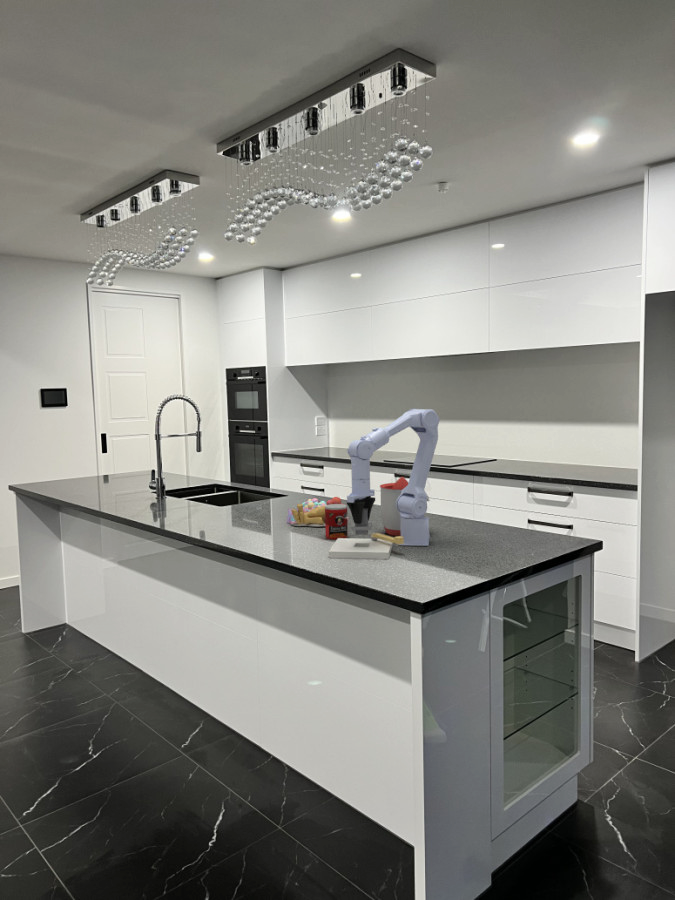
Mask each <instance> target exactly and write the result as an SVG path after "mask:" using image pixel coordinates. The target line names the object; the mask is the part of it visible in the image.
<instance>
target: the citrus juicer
mask: <svg viewBox="0 0 675 900" xmlns="http://www.w3.org/2000/svg"><path fill="white" fill-rule="evenodd" d="M408 483H409V480H407V479H406V478H405V477H404V476H401V477H399V478H398V479H397V480H396V481H395V482H389V483H388V482H387V483H382V484H380V485H379V488H380V516H381V517H380V518H381V520H382V521H381V522H382V525H383V528H384V531H385V533H386V535H387V534H388V535H389V536H390V537H398V536H401V516H400V512H399V511H398V510H397V508H396V501H397V499H398V497H399V496H400V495H401V492H402V490H403V489H404V488H405V487H406V486H407V485H408ZM413 497H415V496H413ZM430 501H431V499H430V497H429V496H428V499H427V502H430Z"/></svg>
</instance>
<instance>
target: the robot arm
mask: <svg viewBox="0 0 675 900" xmlns="http://www.w3.org/2000/svg"><path fill="white" fill-rule="evenodd" d="M440 420H441V419H440V417H439V416H438V414H437V412H436V411H435V410H434V409H431V408H428V409H425V408H424V409H423V408H421V409H420V408H410V409H409V410H408V411H406V412H404V413H403V414H402V415H401V416H399V417H398V418H396V419H395V420H394V421H392V422H391V423H389V424H388V425H386V427H374V428H372V429H371V430H372V431H370V432H369V433H367V434H365V435H361V436H360V439H355V440H352V441H351V442H350V444H349V445H348V448H347V449H346V453H347V454H348V456H349V457H350V462H351V464H350V465H351V470H350V471H351V493H350V494H348V495H347V496H346V505H347V508H348V509H349V511H350V512H351V516H352V520H353V523H355V524H361V521H362V512H363V508H368V522H369V521H370V516H371V513H372V509H373V506H374V504H375V502H376V497H375V494H376V493H375V489H371V461H370V460H371V458H372V457H373V454H374V453H375V452H376V451H378V450H380V449H381V448H382V447H384V446H385V445H387V444H388V443H389V442H390V438H391V437H394V436H395V435H397V434H398V433H400V432H402V431H403V430H405V429H407V428H410V429H411V430H412V431H414V433H416V434H417V436H418V438H419V444H418V447H417V451H416V453H415V454H416V455H415V459H414V462H413V464H412V469H411V473H410V475H409V480H408V482H409V483H408V485H407V486H406V487H405V488H404V489H403V490H402V492H401V495H400V496H399V497H398V499H397V501H396V508H397V510H398V511H399V512H400V516H401V537H404V544H399V545H398V546H409V547H410V546H411V547H412V546H413V547H415V546H417V547H418V546H419V547H422V546H423V547H429V545H430V544H429V543H430V540H431V534H430V517H429V516H425V514H426V513H427V511H428V501H427V499H428V497H429V496H428V494H427V492H426V491H425V488H426V484H427V480H428V478H429V477H428V476H429V474H430V473H429V472H430V470H431V467H432V466H431V465H432V462H433V458H434V455H435V451H436V447H437V444H438V440H439V430H438V429H439V427H438V426H439V424H440ZM413 496H415V497H413Z"/></svg>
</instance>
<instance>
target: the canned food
mask: <svg viewBox="0 0 675 900" xmlns="http://www.w3.org/2000/svg"><path fill="white" fill-rule="evenodd" d="M347 516H348V505H347V504H344V503H341V504H330V505H326V506H325V526H324V528H325V529H324V530H325V537H326V538H325V539H327V540H332V541H336V540H337V539H338V538H348V533H349V531H348V530H349V529H348V528H349V527H348V526H349V525H348V520H347Z"/></svg>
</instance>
